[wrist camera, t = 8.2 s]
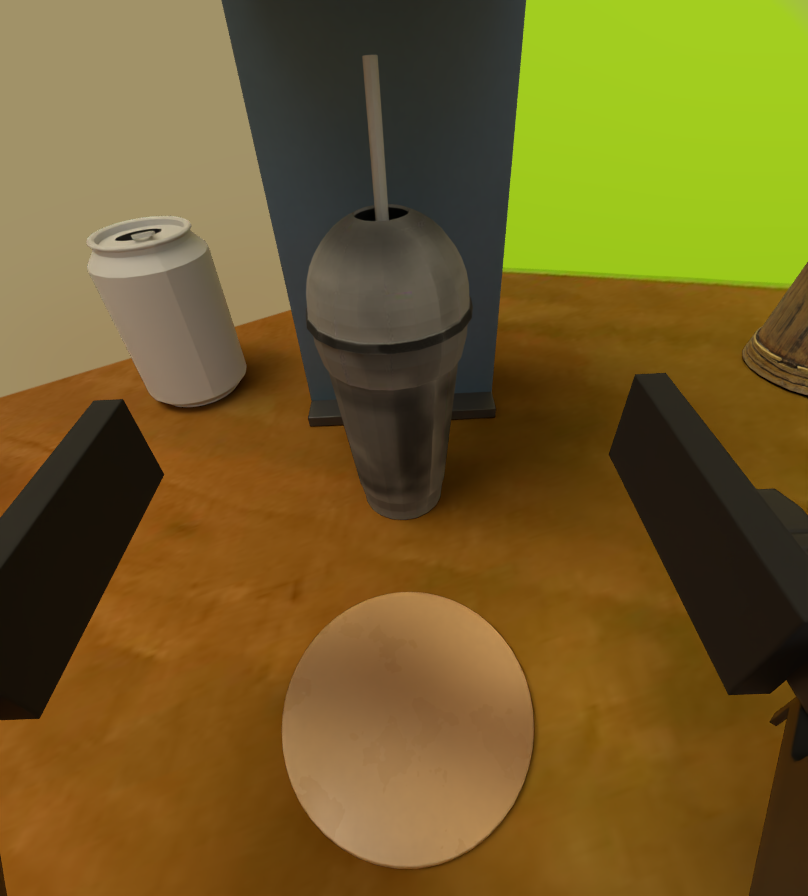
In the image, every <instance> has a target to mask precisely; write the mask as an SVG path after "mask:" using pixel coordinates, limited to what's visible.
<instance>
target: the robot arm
mask: <svg viewBox="0 0 808 896" xmlns="http://www.w3.org/2000/svg"><path fill="white" fill-rule="evenodd" d="M609 456H610V458H611V460H612V462H613V464H614V466H615V468H616V470H617V472H618V474H619V476H620V478H621V480H622V482H623V484H624V486H625V488H626V490H627V492H628V494H629V496H630V498H631V500H632V502H633V504H634V506H635V508H636V510H637V512H638V514H639V516H640V518H641V520H642V522H643V524H644V526H645V528H646V530H647V532H648V534H649V536H650V538H651V540H652V542H653V544H654V546H655V548H656V550H657V552H658V554H659V556H660V558H661V560H662V562H663V564H664V566H665V568H666V570H667V572H668V574H669V576H670V578H671V580H672V582H673V584H674V586H675V588H676V590H677V592H678V594H679V596H680V599H681V601H682V603H683V605H684V607H685V609H686V611H687V613H688V615H689V617H690V619H691V621H692V623H693V625H694V627H695V629H696V631H697V633H698V635H699V637H700V639H701V641H702V643H703V645H704V647H705V649H706V651H707V653H708V655H709V657H710V659H711V661H712V663H713V665H714V667H715V669H716V671H717V673H718V675H719V677H720V679H721V681H722V683H723V685H724V687H725V689H726V691H727V693H728V695H743V694H770V693H771V692H772V691H774V690H775V689H776V688H777V687H778V686H780V685H781V684H782V683H783V682H784V681H786V680H787V681H788V683H789V685H790V686H791V688H792V690H793V691H794V693H795V695H796V696H797V697H795V698H794V699H793V700H791V701H790V702H789V703H788V704H786V705H785V706H784V707H782V708H781V709H780V710H778V711H777V712H776V713H775V714H774V716H773V717H772V719H771V721H770V723H772V724H774V725H775V726H777V725H779V724H780V723H781V722H783V721H784V720H786V719H787V721H786V726H785V730H784V735H783V740H782V744H781V749H780V753H779V758H778V763H777V767H776V772H775V777H774V781H773V786H772V791H771V795H770V800H769V805H768V809H767V814H766V819H765V823H764V828H763V832H762V837H761V842H760V846H759V851H758V856H757V860H756V865H755V870H754V874H753V879H752V884H751V888H750V893H749V896H808V515H807V514H806V513H805V512H804V511H803V509H802V508H801V507H800V506H798V505H797V504H796V503H794V502H793V501H791V500H790V499H788V498H787V497H786V496H784V495H783V494H781V493H780V492H779V491H777V490H776V489H756V488H755V487H754V486H753V485H752V483H751V482H750V481H749V479H748V478H747V477H746V476H745V474H744V473H743V472H742V470H741V469H740V468H739V467H738V465H737V464H736V463H735V461H734V460H733V459H732V458H731V456H730V455H729V454H728V452H727V451H726V450H725V449H724V447H723V446H722V445H721V443H720V442H719V441H718V440H717V438H716V437H715V436H714V434H713V433H712V432H711V431H710V429H709V428H708V427H707V425H706V424H705V423H704V422H703V420H702V419H701V418H700V416H699V415H698V414H697V413H696V411H695V410H694V409H693V407H692V406H691V405H690V404H689V402H688V401H687V400H686V398H685V397H684V396H683V395H682V393H681V392H680V391H679V389H678V388H677V387H676V386H675V384H674V383H673V382H672V380H671V379H670V378H669V377H668V375H667V374H666V373H656V374H635V377H634V380H633V383H632V386H631V389H630V392H629V395H628V398H627V401H626V404H625V407H624V410H623V413H622V416H621V419H620V422H619V425H618V428H617V431H616V434H615V437H614V440H613V443H612V446H611V449H610V452H609ZM163 476H164V473H163V471H162V470H161V468H160V466H159V464H158V462H157V460H156V459H155V457H154V455H153V453H152V451H151V450H150V448H149V446H148V444H147V442H146V440H145V439H144V437H143V435H142V433H141V431H140V429H139V428H138V426H137V424H136V422H135V420H134V419H133V417H132V415H131V413H130V411H129V409H128V408H127V406H126V404H125V402H124V400H123V399H119V400H98V401H93V402H92V404H91V405H90V406H89V407H88V409H87V410H86V411H85V412H84V414H83V415H82V416H81V417H80V419H79V420H78V421H77V422H76V424H75V425H74V426H73V427H72V429H71V430H70V431H69V432H68V434H67V435H66V436H65V437H64V439H63V440H62V441H61V442H60V444H59V445H58V446H57V447H56V449H55V450H54V451H53V452H52V454H51V455H50V456H49V457H48V459H47V460H46V461H45V462H44V464H43V465H42V466H41V467H40V469H39V470H38V471H37V472H36V474H35V475H34V476H33V478H32V479H31V480H30V481H29V483H28V484H27V485H26V486H25V488H24V489H23V490H22V491H21V493H20V494H19V495H18V496H17V498H16V499H15V500H14V501H13V503H12V504H11V505H10V506H9V508H8V509H7V510H6V511H5V513H4V514H3V515H2V516H1V518H0V720H16V719H40V717H41V715H42V713H43V711H44V709H45V707H46V705H47V703H48V701H49V699H50V697H51V695H52V693H53V691H54V689H55V687H56V685H57V683H58V681H59V680H60V678H61V676H62V674H63V672H64V670H65V668H66V666H67V664H68V662H69V660H70V658H71V656H72V654H73V652H74V650H75V648H76V646H77V644H78V642H79V640H80V638H81V636H82V634H83V633H84V631H85V629H86V627H87V625H88V623H89V621H90V619H91V617H92V615H93V613H94V611H95V609H96V607H97V605H98V603H99V601H100V599H101V597H102V595H103V593H104V591H105V589H106V588H107V586H108V584H109V582H110V580H111V578H112V576H113V574H114V572H115V570H116V568H117V566H118V564H119V562H120V560H121V558H122V556H123V554H124V552H125V550H126V548H127V546H128V544H129V542H130V541H131V539H132V537H133V535H134V533H135V531H136V529H137V527H138V525H139V523H140V521H141V519H142V517H143V515H144V513H145V511H146V509H147V507H148V505H149V503H150V501H151V499H152V497H153V495H154V494H155V492H156V490H157V488H158V486H159V484H160V482H161V480H162V478H163ZM0 896H7V893H6V887H5V881H4V874H3V868H2V862H1V856H0Z"/></svg>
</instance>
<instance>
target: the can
mask: <svg viewBox="0 0 808 896" xmlns="http://www.w3.org/2000/svg"><path fill="white" fill-rule="evenodd" d="M190 228H191V224H190V222H189V221H188V220H186V219H184V218H181V217H175V216H153V217H144V218H138V219H132V220H127V221H123V222H120V223H116V224H113V225H110V226H107V227H104V228H102V229H100V230H98V231H96V232H94V233H93V234H91V235H90V237H88V239H87V245H88V246H89V247H90V248H92V250H93V252H92V254H91V257H90V260H89V262H88V265H87V266H88V267H87V268H88V272H89V274H90V276H91V278H92V280H93V282H94V284H95V286H96V288H97V290H98V292H99V294H100V296H101V298H102V300H103V302H104V304H105V306H106V308H107V310H108V312H109V314H110V316H111V318H112V320H113V322H114V324H115V326H116V328H117V330H118V332H119V334H120V336H121V338H122V340H123V342H124V344H125V346H126V348H127V350H128V352H129V354H130V356H131V358H132V360H133V362H134V364H135V366H136V368H137V370H138V372H139V374H140V376H141V378H142V380H143V382H144V384H145V386H146V388H147V390H148V392H149V394H150V395H151V396H152V397H154V398H155V399H156V400H158V401H161V402H164V403H167V404H172V405H175V406H178V407H196V406H203V405H206V404H210V403H213V402H216V401H218V400H220V399H222V398H224V397H226V396H227V395H228V394H229V393H231V392H232V391H233V390H234V389H235V388H236V386H237V385H238V384H239V382H240V380H241V379H242V378H243V376H244V375H245V373H246V367H247V365H246V362H245V359H244V356H243V353H242V350H241V347H240V343H239V340H238V337H237V334H236V331H235V328H234V325H233V322H232V318H231V315H230V312H229V309H228V306H227V303H226V300H225V297H224V294H223V290H222V288H221V284H220V281H219V278H218V275H217V272H216V269H215V266H214V262H213V259H212V256H211V253H210V250H209V247H208V245H207V243H206V241H205V240H203V239H202V238H200V237H199V236H197V235H196V234H194V233H193V232H192V231H190Z"/></svg>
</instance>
